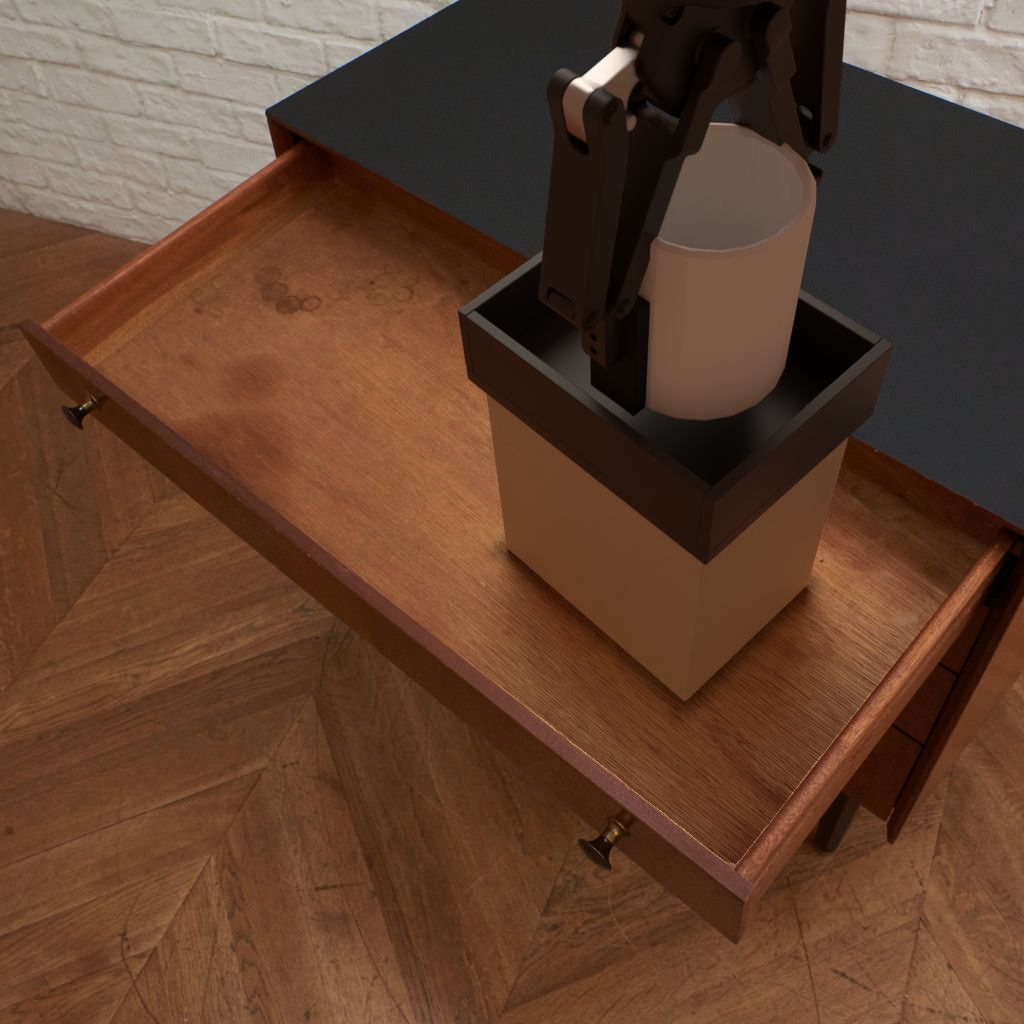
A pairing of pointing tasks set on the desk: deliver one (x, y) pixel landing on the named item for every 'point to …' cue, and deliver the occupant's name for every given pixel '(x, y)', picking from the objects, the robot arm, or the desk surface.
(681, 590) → the stand
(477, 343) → the basket
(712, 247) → the mug
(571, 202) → the robot arm
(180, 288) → the desk surface
